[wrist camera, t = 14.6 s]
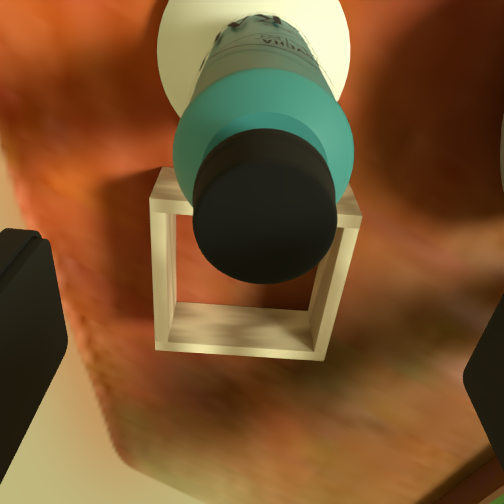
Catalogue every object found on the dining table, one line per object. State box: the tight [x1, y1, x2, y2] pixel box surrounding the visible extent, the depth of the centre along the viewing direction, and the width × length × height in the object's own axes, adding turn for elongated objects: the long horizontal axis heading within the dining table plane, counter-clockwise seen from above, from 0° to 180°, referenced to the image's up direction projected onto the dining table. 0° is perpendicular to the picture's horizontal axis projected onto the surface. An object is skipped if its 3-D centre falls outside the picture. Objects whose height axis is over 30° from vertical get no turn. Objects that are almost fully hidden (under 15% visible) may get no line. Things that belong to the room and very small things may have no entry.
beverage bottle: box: [173, 12, 354, 284], centre depth 20 cm, size 6×7×20 cm
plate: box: [157, 0, 350, 118], centre depth 28 cm, size 12×12×1 cm
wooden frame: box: [149, 167, 362, 361], centre depth 35 cm, size 14×14×5 cm
